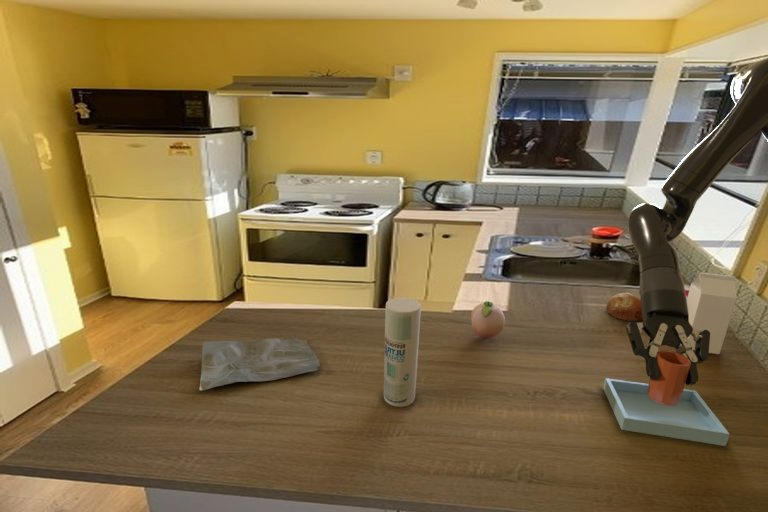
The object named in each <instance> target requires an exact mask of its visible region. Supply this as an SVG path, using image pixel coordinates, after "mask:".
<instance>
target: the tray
mask: <svg viewBox="0 0 768 512" xmlns="http://www.w3.org/2000/svg"><path fill="white" fill-rule="evenodd" d="M648 385H649V383H644V382H637V381H631V380H630V381H628V380H622V379H616V378H608V377H605V379H604V382H603V387H602V389H603V391H604V394H605V397H606V398H607V400H608V402H609V405H610V407H611V409H612V411H613V414H614V416H615V418H616V421H617V423H618V425H619V427H620V429H621V430H622V431H628V432H634V433H640V434H647V435H652V436H660V437H665V438H671V439H679V440H683V441H689V442H690V441H691V442H697V443H703V444H710V445H716V446H723V447H726V446H727V443H728V441H729V438H730V432H729V431H728V430H727V428H725V426H724V424H723V423H722V422H721V421H720V420H719V418H718V417H717V416H716V414H715V413H714V412H713V411H712V410H711V408H710V407H709V406H708V405H707V403H706V402H705V400H704V399H703V397H701V396H700V394H699V393H698V391H696V389H687V388H684V389H683V392H682V396H681V399H680V402H679V404H678V405H677V406H666V405H662V404H659V403H657V402H655V401H653V400H652V399H651V398H650V397H649V396H648V395H647V389H648Z"/></svg>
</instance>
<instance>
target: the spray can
mask: <svg viewBox="0 0 768 512" xmlns="http://www.w3.org/2000/svg"><path fill="white" fill-rule="evenodd" d="M384 311H385V312H384V314H385V316H384V357H383V359H384V361H383V399H384V401H385V402H386V403H387V404H388V405H391V406H393V407H397V408H402V407H408V406H409V405H411V404H413V403H414V401H415V398H416V391H417V390H416V388H417V387H416V386H417V375H418V374H417V373H418V361H419V359H418V357H419V343H420V329H421V328H420V327H421V315H422V305H421V303H420V301H418V300H416V299H413V298H409V297H395V298H391V299H388V300H387V301H386V303H385V310H384Z"/></svg>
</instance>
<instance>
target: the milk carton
mask: <svg viewBox="0 0 768 512" xmlns="http://www.w3.org/2000/svg"><path fill="white" fill-rule="evenodd" d="M736 278H737V277H736V276H732V275H725V274H717V273H708V272H699V275H698V277H697V278H696V279H694V280H693V281H692V282H691V284H690V285H689V286H690V290H689V294H688V297H687V307H688V314H689V323H690V325H691V326H692V328H693V329H697V330H700V331H703V330H708V331H709V332H710V343H709V354H715V355H720V354H721V351H722V348H723V344H724V341H725V338H726V335H727V333H728V328H729V325H730V323H731V319H732V316H733V314H734V313H733V312H734V309H735V306H736V303H737V299H738V294H737V288H736V282H735V281H736ZM688 340H689V342H690V343H691V345H692V350H693V351H695V343H696V341H694V340H693V336H692V335H691V334H690V336H689V337H688Z"/></svg>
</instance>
